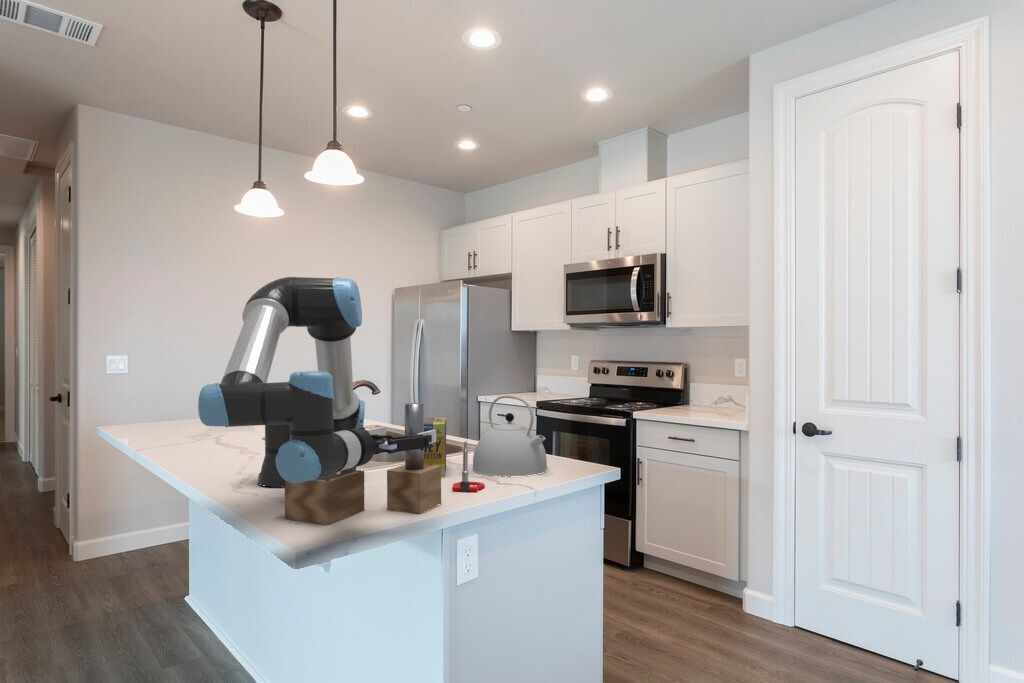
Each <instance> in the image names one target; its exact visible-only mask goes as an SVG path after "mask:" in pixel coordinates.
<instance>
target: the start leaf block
mask: <svg viewBox="0 0 1024 683" xmlns="http://www.w3.org/2000/svg"><path fill="white" fill-rule="evenodd" d="M438 504H440V505H441V504H442V478H441V466H436V465H425V464H424V468H423V469H420V470H406V469H405V464H401V465H399V466H396V467H393V468H390V469H386V510H388V511H396V512H402V511H404V512H403V513H410V512H413V513H412V514H418V513H421V514H423V513H425V512H427V511H429V510H428V509H430V508H432V507H434V506H436V505H438ZM438 506H439V505H438ZM436 507H437V506H436ZM434 508H435V507H434ZM432 509H433V508H432ZM426 510H427V511H426ZM430 510H431V509H430ZM424 511H425V512H424ZM422 512H423V513H422Z"/></svg>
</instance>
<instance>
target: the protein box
mask: <svg viewBox="0 0 1024 683" xmlns="http://www.w3.org/2000/svg"><path fill="white" fill-rule="evenodd" d="M430 430H436V442H434V443H431V444H429V448H424V464H425V465H436V466H441V477H445V478H446V471H447V418H446V417H424V432H426V431H430Z"/></svg>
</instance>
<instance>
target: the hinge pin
mask: <svg viewBox="0 0 1024 683" xmlns="http://www.w3.org/2000/svg"><path fill="white" fill-rule="evenodd" d="M424 418H425V406H424V403H422V402H409V403H404V436H411V435H417V434H418V433H422V432H424ZM404 465H405V469H406V470H420V469H423V468H424V450H420V449H416V450H408V451H404Z"/></svg>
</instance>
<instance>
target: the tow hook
mask: <svg viewBox="0 0 1024 683" xmlns="http://www.w3.org/2000/svg"><path fill="white" fill-rule="evenodd" d="M462 451H463V453H462V471H461V481H458V482H454V483H453V484H452V488H451V490H452V492H461V491H466V492H465V493H469V492H468V491H471V492H470V493H478V492H479V490H482V489H483V490H484V488H485V487H486V486H485V483H483V482H480V481H469V471H468V467H469V466H468V461H469V459H468V458H469V456H468V455H469V449H468V441H467V440H465V441H464V442H463V450H462ZM475 485H477V486H475ZM477 491H478V492H477Z"/></svg>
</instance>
